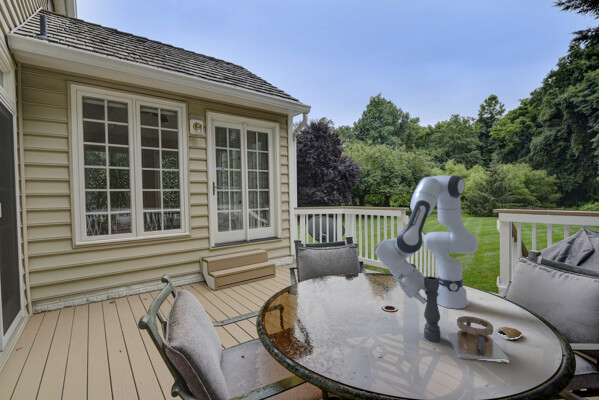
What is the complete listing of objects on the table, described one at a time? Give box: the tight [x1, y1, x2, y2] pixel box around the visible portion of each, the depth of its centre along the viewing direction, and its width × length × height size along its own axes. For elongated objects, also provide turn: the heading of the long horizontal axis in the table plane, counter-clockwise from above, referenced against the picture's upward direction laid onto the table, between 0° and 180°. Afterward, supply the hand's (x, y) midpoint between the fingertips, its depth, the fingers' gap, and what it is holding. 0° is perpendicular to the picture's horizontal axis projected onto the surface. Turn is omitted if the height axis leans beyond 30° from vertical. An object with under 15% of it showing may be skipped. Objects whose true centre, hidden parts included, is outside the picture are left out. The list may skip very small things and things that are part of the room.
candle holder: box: [423, 275, 442, 343], centre depth 113 cm, size 6×6×25 cm
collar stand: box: [445, 315, 510, 361], centre depth 105 cm, size 16×16×10 cm
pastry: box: [495, 326, 523, 338], centre depth 113 cm, size 9×7×4 cm
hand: (428, 299), depth 114 cm, fingers open, 8 cm apart
